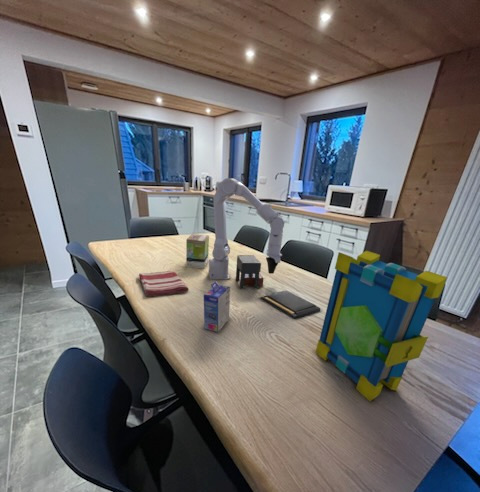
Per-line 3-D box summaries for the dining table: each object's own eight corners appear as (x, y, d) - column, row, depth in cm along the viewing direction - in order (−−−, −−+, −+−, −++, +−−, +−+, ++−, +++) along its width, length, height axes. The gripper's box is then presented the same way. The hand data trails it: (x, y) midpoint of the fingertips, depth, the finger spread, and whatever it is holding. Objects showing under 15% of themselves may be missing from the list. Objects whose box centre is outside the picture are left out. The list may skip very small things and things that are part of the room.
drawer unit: (240, 288, 117) (242, 262, 112) (235, 279, 128) (237, 254, 123) (261, 288, 119) (264, 262, 114) (254, 279, 130) (257, 255, 125)
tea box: (205, 268, 138) (205, 240, 132) (185, 267, 138) (185, 239, 132) (208, 260, 152) (209, 234, 145) (191, 259, 152) (191, 233, 145)
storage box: (243, 286, 120) (244, 278, 119) (241, 281, 126) (241, 273, 124) (262, 286, 122) (263, 277, 120) (259, 281, 127) (260, 273, 126)
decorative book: (366, 407, 60) (413, 284, 47) (305, 349, 78) (326, 250, 65) (408, 391, 65) (460, 278, 52) (341, 341, 84) (368, 248, 71)
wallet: (322, 306, 102) (294, 314, 94) (321, 310, 103) (293, 319, 95) (287, 288, 117) (260, 294, 109) (286, 291, 118) (259, 298, 110)
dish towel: (146, 297, 103) (146, 291, 102) (138, 277, 121) (137, 271, 120) (188, 292, 110) (188, 286, 109) (174, 273, 129) (174, 268, 127)
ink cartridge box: (215, 315, 94) (216, 277, 87) (229, 318, 92) (231, 280, 86) (202, 328, 85) (202, 287, 79) (218, 332, 84) (220, 290, 77)
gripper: (288, 248, 112) (284, 278, 118) (278, 240, 125) (274, 268, 131) (273, 248, 111) (269, 278, 117) (263, 240, 123) (260, 268, 129)
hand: (270, 273), depth 124 cm, fingers closed
